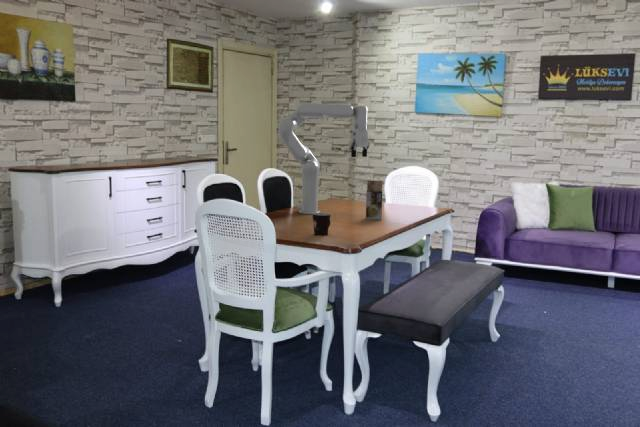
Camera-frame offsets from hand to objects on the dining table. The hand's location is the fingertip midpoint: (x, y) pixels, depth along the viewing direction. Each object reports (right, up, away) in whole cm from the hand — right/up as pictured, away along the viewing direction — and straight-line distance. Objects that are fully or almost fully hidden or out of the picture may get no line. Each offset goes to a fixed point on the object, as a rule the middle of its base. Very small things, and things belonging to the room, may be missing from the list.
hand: (359, 156), depth 349 cm
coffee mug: (-22, -44, -64) cm, 81 cm away
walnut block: (+8, -20, -11) cm, 25 cm away
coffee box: (+8, -36, -9) cm, 38 cm away
